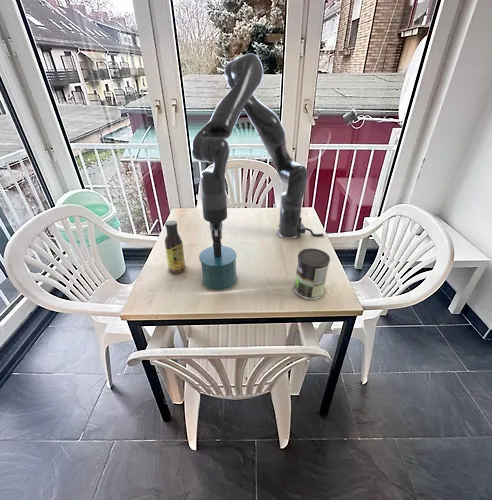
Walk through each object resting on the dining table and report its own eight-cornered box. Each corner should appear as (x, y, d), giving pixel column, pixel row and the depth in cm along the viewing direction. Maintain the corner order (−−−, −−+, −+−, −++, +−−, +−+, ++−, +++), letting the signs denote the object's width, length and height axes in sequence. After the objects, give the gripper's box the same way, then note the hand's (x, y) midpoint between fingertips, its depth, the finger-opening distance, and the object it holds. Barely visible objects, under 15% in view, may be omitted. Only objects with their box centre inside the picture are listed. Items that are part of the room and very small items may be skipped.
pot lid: (235, 247, 105) (234, 233, 102) (237, 267, 94) (237, 252, 91) (200, 249, 103) (198, 235, 100) (198, 270, 93) (196, 254, 90)
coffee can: (295, 299, 96) (299, 265, 88) (293, 280, 105) (296, 247, 97) (326, 300, 96) (333, 266, 88) (321, 281, 104) (326, 248, 97)
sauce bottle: (177, 276, 106) (169, 229, 96) (165, 270, 109) (156, 224, 98) (189, 267, 111) (183, 221, 100) (177, 262, 114) (170, 217, 103)
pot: (234, 269, 110) (234, 246, 104) (237, 289, 100) (236, 265, 94) (203, 272, 108) (201, 248, 103) (203, 292, 99) (200, 267, 93)
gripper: (227, 213, 82) (230, 259, 91) (225, 195, 94) (227, 237, 103) (201, 214, 82) (206, 261, 90) (202, 196, 94) (206, 238, 102)
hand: (217, 248), depth 97 cm, fingers open, 8 cm apart
